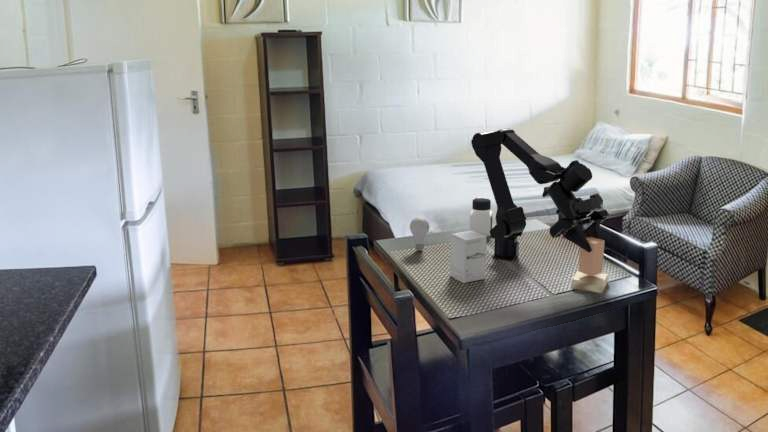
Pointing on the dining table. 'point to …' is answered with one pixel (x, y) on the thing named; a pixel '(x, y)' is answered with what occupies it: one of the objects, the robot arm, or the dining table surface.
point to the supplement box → (468, 256)
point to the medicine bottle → (481, 216)
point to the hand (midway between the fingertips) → (596, 249)
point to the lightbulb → (419, 231)
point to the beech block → (590, 282)
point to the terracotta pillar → (592, 257)
